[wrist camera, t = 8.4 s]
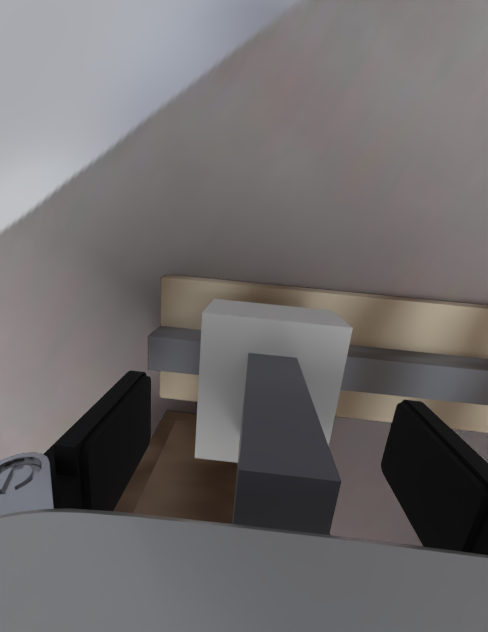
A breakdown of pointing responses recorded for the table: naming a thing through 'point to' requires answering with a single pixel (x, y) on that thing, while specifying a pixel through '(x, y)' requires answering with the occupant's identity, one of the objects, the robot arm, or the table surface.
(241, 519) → the carriage
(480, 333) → the rail base
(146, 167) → the table surface
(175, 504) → the brown wooden box
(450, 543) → the robot arm
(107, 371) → the table surface
